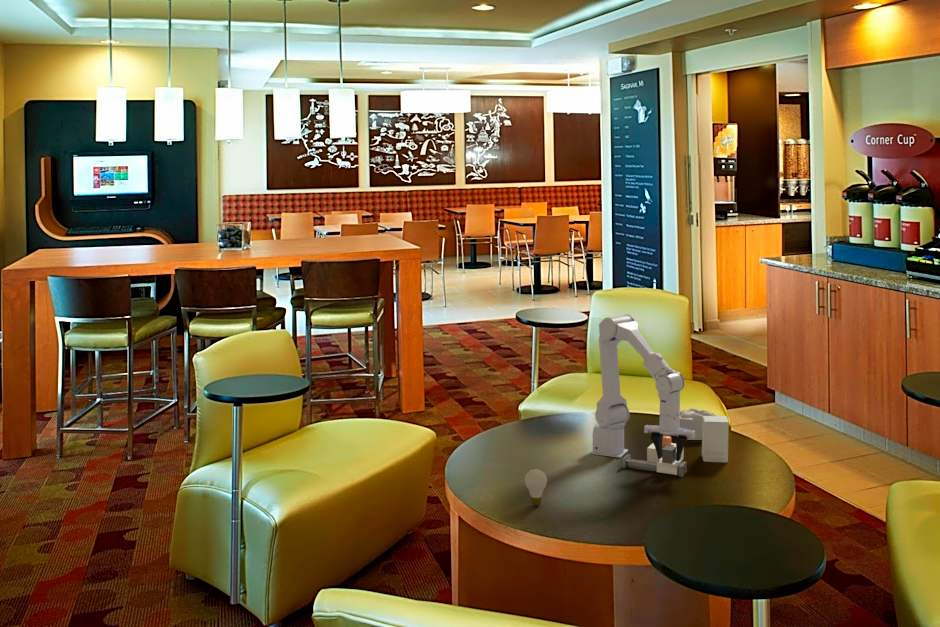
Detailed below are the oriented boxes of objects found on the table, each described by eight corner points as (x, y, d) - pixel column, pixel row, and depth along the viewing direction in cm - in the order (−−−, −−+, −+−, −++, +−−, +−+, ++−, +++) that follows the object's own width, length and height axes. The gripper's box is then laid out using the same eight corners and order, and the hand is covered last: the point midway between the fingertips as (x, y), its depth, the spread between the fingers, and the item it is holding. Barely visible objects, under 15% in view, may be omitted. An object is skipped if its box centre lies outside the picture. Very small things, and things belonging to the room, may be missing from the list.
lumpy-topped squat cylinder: (673, 432, 297) (674, 407, 295) (712, 431, 296) (712, 406, 295) (679, 441, 286) (680, 415, 285) (719, 440, 286) (720, 415, 285)
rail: (622, 468, 261) (622, 458, 260) (627, 463, 265) (627, 453, 265) (681, 476, 252) (682, 466, 252) (686, 471, 257) (686, 461, 256)
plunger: (658, 453, 266) (658, 438, 265) (661, 450, 269) (661, 435, 268) (669, 455, 264) (669, 439, 264) (672, 452, 267) (672, 436, 267)
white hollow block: (647, 462, 266) (647, 447, 265) (654, 454, 273) (655, 440, 272) (676, 466, 262) (676, 451, 261) (683, 458, 268) (683, 444, 268)
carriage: (656, 472, 256) (656, 448, 255) (661, 467, 260) (661, 444, 259) (676, 474, 253) (677, 451, 252) (681, 470, 257) (681, 447, 256)
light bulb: (532, 500, 237) (531, 464, 235) (551, 504, 233) (550, 468, 232) (521, 507, 232) (520, 471, 230) (540, 511, 229) (539, 474, 227)
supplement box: (728, 463, 264) (729, 422, 262) (702, 462, 265) (703, 421, 263) (726, 455, 271) (727, 415, 269) (701, 454, 272) (702, 415, 270)
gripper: (641, 414, 254) (640, 459, 256) (690, 420, 247) (690, 466, 249) (648, 408, 260) (648, 452, 262) (697, 413, 253) (696, 459, 255)
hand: (669, 458), depth 256 cm, fingers open, 5 cm apart
